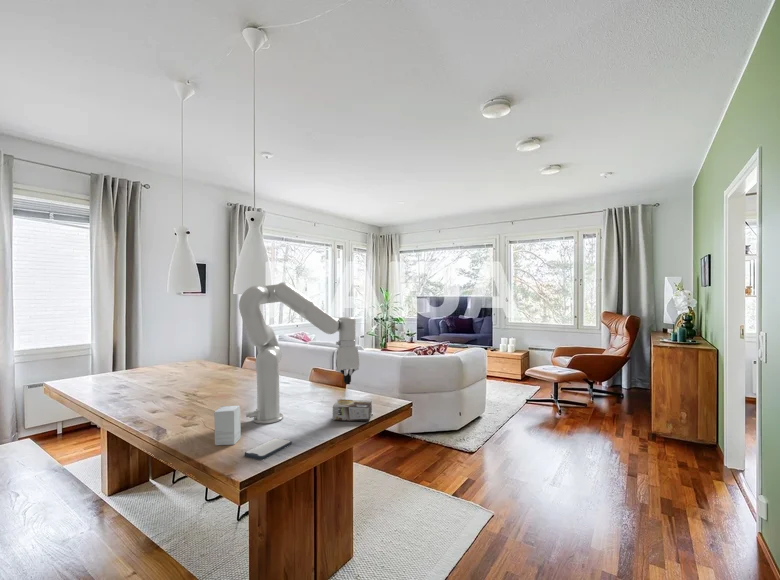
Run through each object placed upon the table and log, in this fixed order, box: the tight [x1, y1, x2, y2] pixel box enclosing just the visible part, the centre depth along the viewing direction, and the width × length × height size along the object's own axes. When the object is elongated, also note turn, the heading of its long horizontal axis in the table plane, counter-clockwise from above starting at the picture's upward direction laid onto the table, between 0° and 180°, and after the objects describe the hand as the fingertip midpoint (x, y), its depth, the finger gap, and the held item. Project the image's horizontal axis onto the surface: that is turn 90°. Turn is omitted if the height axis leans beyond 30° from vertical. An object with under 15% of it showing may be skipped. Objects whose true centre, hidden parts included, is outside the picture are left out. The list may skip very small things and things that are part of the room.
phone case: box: [244, 437, 293, 461], centre depth 135 cm, size 9×2×16 cm
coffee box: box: [332, 398, 373, 423], centre depth 168 cm, size 9×6×16 cm
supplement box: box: [213, 405, 242, 446], centre depth 143 cm, size 7×7×13 cm
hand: (347, 383), depth 174 cm, fingers closed
